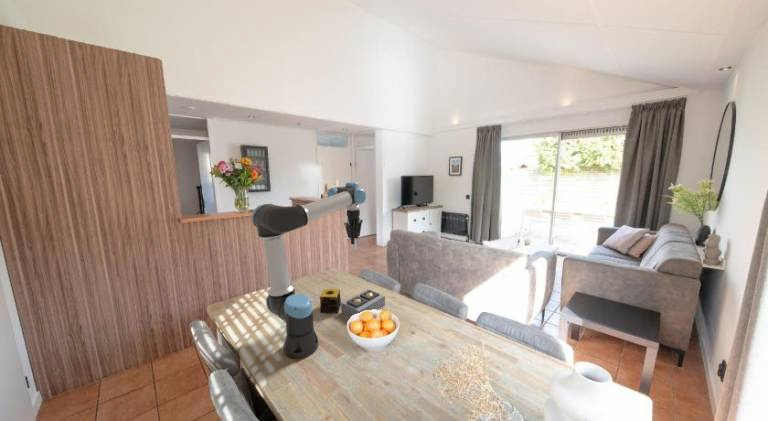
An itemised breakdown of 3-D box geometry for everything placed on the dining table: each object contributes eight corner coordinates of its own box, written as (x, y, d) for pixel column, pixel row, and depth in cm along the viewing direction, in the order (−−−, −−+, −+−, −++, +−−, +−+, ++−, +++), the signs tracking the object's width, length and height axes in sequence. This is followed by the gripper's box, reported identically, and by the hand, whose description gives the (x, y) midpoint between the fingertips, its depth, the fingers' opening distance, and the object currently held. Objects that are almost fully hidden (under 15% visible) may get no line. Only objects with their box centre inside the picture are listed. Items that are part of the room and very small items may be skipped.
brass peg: (369, 307, 157) (369, 296, 156) (364, 305, 160) (364, 294, 158) (374, 305, 160) (374, 293, 159) (369, 303, 163) (369, 291, 161)
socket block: (359, 321, 144) (359, 309, 142) (341, 312, 153) (341, 300, 151) (385, 305, 160) (384, 294, 158) (367, 298, 168) (367, 287, 167)
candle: (338, 313, 152) (337, 297, 150) (319, 313, 152) (319, 297, 150) (341, 304, 162) (340, 288, 160) (324, 304, 162) (323, 288, 160)
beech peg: (357, 315, 149) (357, 303, 148) (352, 312, 152) (351, 300, 151) (362, 312, 152) (362, 300, 151) (357, 309, 155) (357, 298, 154)
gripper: (349, 211, 150) (350, 253, 154) (365, 208, 159) (366, 247, 163) (340, 210, 154) (341, 250, 158) (356, 207, 164) (357, 245, 168)
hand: (354, 248), depth 161 cm, fingers closed
